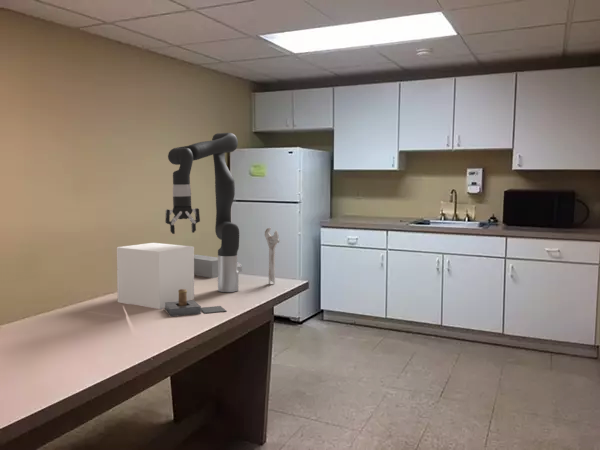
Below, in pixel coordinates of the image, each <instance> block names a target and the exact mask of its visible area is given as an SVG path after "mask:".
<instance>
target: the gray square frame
mask: <svg viewBox="0 0 600 450" xmlns="http://www.w3.org/2000/svg"><path fill="white" fill-rule="evenodd" d="M201 308H202V306H201V305H200V303H198V302H197V301H196V300H195V299H193V300H190V301H187V306H179V301H177V302H165V308H164V310H165V311H166V313H167V314H168V315H169V317H180V316H190V315H201V314H202V311H201Z"/></svg>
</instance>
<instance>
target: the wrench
mask: <svg viewBox="0 0 600 450" xmlns="http://www.w3.org/2000/svg"><path fill="white" fill-rule="evenodd" d="M271 228H272V227H268V228H266V229H265V231H264V237H265V241H266V242H267V246H268V285H271V282H272V283H273V285H275V284H276V247H277V244H279V243H280V241H281V240H280V239H279V238H280V237H279V232H278V230H277V229H276V230H275V231H274V232H273V235H272V234H271V233H270V232H271Z"/></svg>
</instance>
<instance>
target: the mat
mask: <svg viewBox="0 0 600 450" xmlns="http://www.w3.org/2000/svg"><path fill="white" fill-rule="evenodd" d="M226 312H227V310H226V309H225V308H224V307H223V306H221V305H217V306H214V305H213V306H203V307H202V306H201V313H203V314H204V315H206V314H217V313H226Z"/></svg>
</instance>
